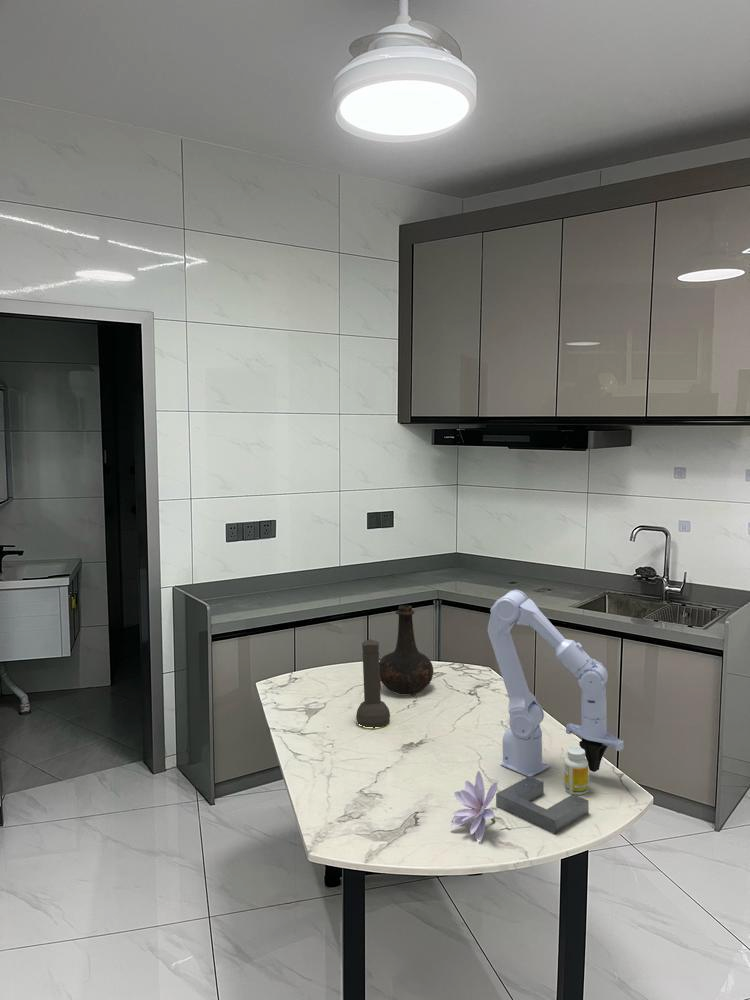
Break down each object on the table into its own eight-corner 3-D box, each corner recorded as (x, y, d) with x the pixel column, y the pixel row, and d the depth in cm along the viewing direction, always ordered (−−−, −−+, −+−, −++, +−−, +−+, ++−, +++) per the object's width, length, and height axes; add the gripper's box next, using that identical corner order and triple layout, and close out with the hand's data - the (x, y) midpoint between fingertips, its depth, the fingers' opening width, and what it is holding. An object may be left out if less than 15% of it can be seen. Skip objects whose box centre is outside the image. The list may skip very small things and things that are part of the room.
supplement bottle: (560, 790, 175) (559, 751, 174) (571, 782, 178) (571, 743, 177) (581, 798, 171) (581, 757, 170) (592, 789, 175) (592, 749, 174)
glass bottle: (376, 682, 252) (373, 601, 249) (428, 678, 254) (426, 597, 251) (382, 702, 234) (379, 614, 232) (438, 697, 236) (436, 610, 233)
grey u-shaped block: (496, 806, 169) (496, 793, 168) (529, 788, 176) (529, 776, 176) (555, 834, 156) (555, 820, 156) (588, 813, 164) (588, 800, 164)
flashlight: (357, 730, 213) (391, 728, 214) (353, 645, 211) (388, 643, 211) (355, 717, 223) (388, 715, 223) (352, 635, 220) (385, 633, 221)
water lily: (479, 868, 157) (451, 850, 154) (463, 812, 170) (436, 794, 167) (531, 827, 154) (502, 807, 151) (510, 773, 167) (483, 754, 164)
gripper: (630, 718, 175) (630, 774, 176) (577, 702, 186) (578, 755, 187) (613, 727, 170) (614, 784, 172) (560, 710, 181) (561, 764, 183)
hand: (594, 770), depth 179 cm, fingers closed
